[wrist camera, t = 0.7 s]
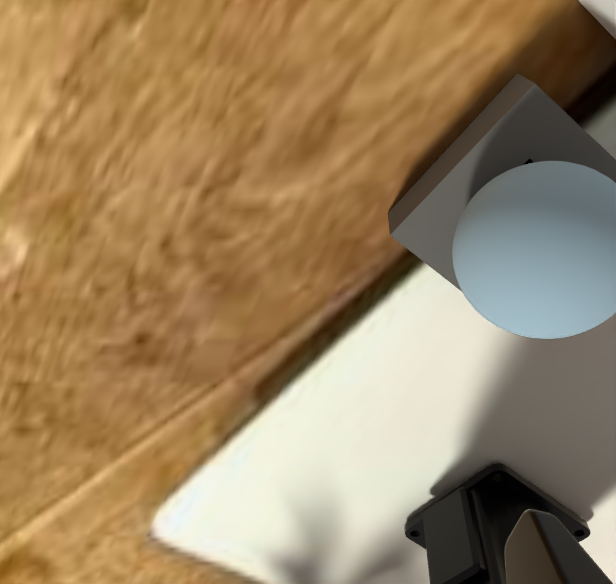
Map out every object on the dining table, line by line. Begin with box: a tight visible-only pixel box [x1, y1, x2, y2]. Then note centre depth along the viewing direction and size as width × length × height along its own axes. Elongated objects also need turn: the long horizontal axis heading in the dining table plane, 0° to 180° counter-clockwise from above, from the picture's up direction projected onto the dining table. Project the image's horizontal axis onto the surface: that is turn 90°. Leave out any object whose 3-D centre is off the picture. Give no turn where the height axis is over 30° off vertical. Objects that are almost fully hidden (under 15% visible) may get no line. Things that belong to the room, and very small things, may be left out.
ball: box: [452, 161, 616, 339], centre depth 15 cm, size 5×5×5 cm
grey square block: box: [388, 73, 616, 291], centre depth 18 cm, size 6×6×2 cm
